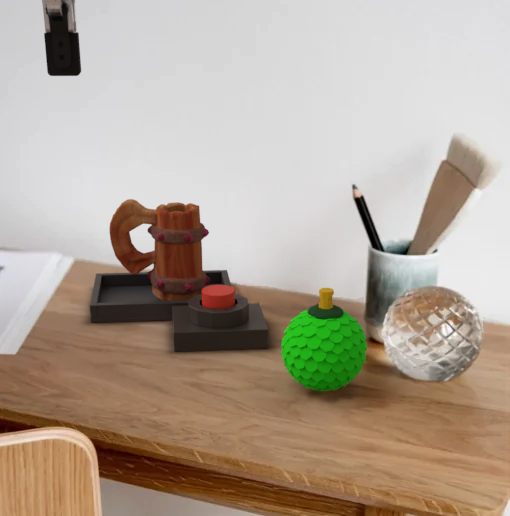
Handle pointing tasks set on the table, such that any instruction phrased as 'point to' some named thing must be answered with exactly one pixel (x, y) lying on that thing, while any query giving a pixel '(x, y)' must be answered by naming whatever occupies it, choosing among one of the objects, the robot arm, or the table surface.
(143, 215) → the mug
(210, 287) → the button
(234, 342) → the panel
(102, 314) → the pan
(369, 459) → the table surface
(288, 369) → the ornament
